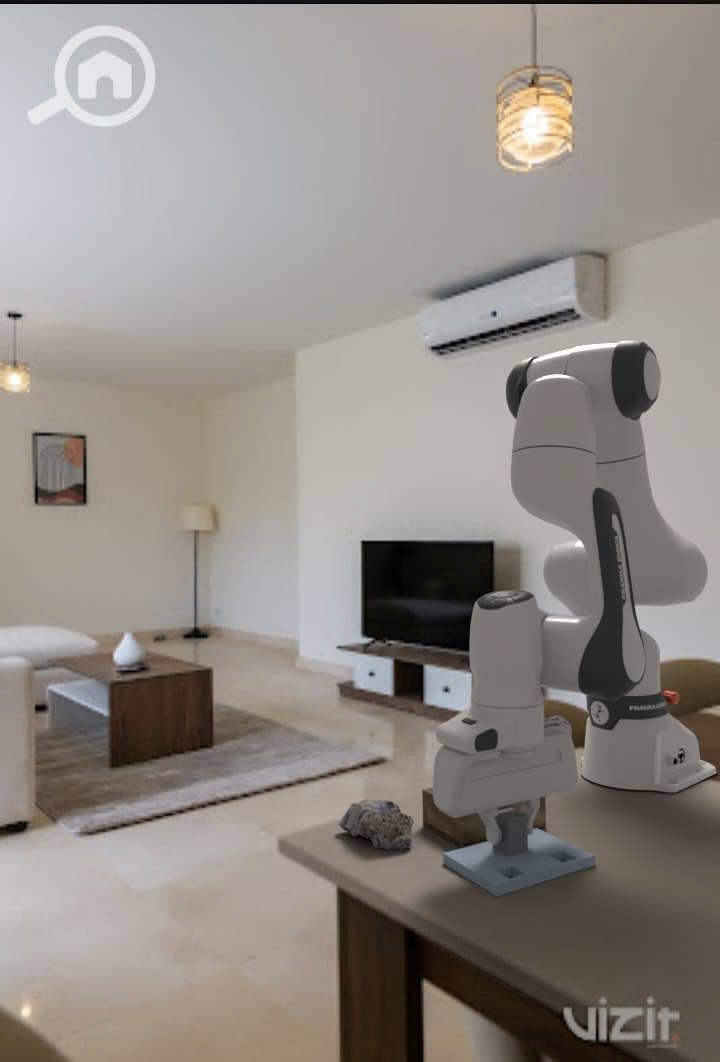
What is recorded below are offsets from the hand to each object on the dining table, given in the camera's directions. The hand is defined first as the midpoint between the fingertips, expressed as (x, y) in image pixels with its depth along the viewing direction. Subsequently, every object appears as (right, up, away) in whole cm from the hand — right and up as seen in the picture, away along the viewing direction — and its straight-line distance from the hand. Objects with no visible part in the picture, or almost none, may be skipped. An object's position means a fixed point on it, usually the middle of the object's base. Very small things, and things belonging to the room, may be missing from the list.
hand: (509, 838), depth 91 cm
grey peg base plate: (+1, -3, -1) cm, 3 cm away
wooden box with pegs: (-1, -3, +11) cm, 11 cm away
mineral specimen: (-16, -3, +7) cm, 18 cm away
